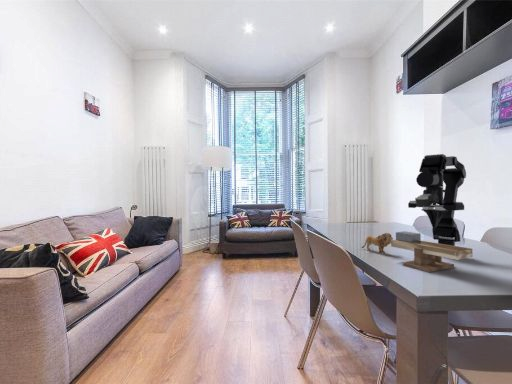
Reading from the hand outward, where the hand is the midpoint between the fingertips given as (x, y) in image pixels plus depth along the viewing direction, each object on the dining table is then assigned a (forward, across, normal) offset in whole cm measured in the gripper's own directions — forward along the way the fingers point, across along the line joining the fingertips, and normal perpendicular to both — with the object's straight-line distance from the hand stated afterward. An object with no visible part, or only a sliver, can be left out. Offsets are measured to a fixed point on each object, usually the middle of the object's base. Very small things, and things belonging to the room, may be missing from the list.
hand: (434, 227), depth 113 cm
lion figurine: (+13, -22, -6) cm, 27 cm away
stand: (+13, +4, -9) cm, 16 cm away
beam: (+7, +4, -9) cm, 12 cm away
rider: (+6, -4, -9) cm, 12 cm away
